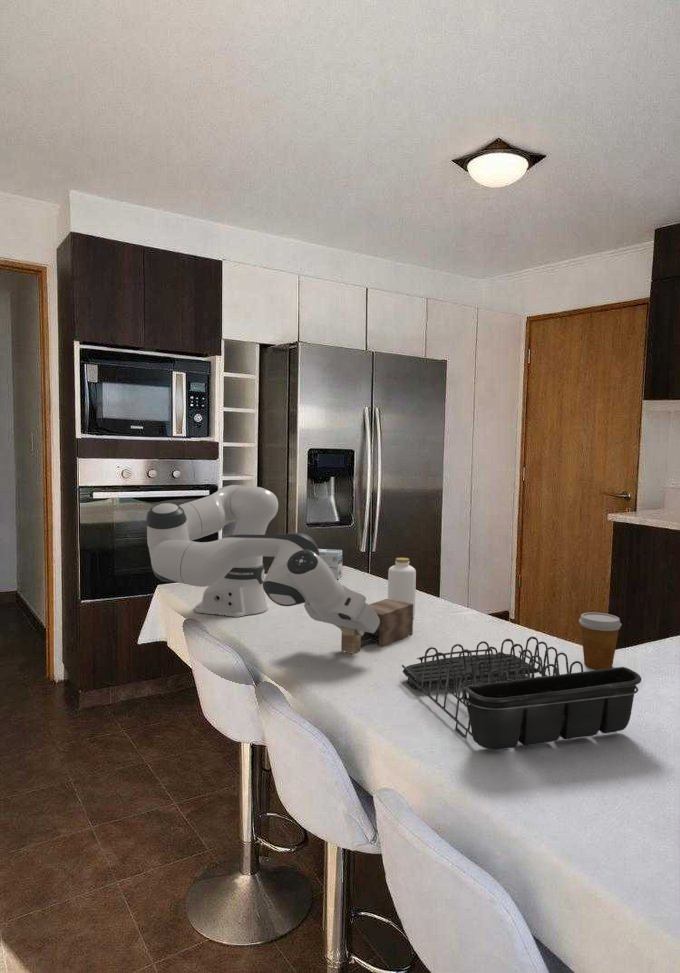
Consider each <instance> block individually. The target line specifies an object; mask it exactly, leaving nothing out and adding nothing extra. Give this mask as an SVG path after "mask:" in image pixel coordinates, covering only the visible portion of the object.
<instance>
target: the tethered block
mask: <svg viewBox="0 0 680 973" xmlns="http://www.w3.org/2000/svg"><path fill="white" fill-rule="evenodd" d="M379 619H380V618H379ZM355 631H356V629H351V628H347V627H343V626H342V631H341V648H340V649H341V650H340V651H341V652H343V651H345V652H344V653H347V652H348V654H351V653H352V655H354V654H356V653H358V652H360V650H361V647H363V646H366V645H368V644H371V643H373V642H376V641H377V640H378V641H379V633H380V623H379V626H378V628H377V630H376V631H375V634H374V637H372V638H369V639H367V640H364V641H361V640H362V639H361V636H360V635H357V634H356V633H355ZM355 652H356V653H355ZM353 653H354V654H353Z"/></svg>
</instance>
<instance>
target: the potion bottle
mask: <svg viewBox="0 0 680 973" xmlns="http://www.w3.org/2000/svg"><path fill="white" fill-rule="evenodd" d="M394 561H395V562H394V563H395V564H394V565H392V566H390V567H389V568H388V571H387V572H388V574H387V577H388V578H387V599H389V600H395V601H400V602H405V603H411V604H413V618H414V617H415V615H416V584H417V583H416V582H417V579H416V578H417V570H416V568H414V567H413V566H412V565H410V558H408V557H396V558H395V560H394Z"/></svg>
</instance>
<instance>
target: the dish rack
mask: <svg viewBox="0 0 680 973" xmlns="http://www.w3.org/2000/svg"><path fill="white" fill-rule="evenodd" d="M531 640H535V641H536V645H535V648H534V654H533V653H532V651H531V650H530V649H528V646H529V642H530V641H531ZM506 642H510V643H511V648H510V652H509V653H504V652H503V651H504V644H505V643H506ZM482 644H485V645H486V647H487V648H486V649H479V647H480V645H482ZM542 644H543V645H544V646H545V651H544V657H543V659H542V657H541V656H540V648H539V645H542ZM456 647H460V648H461V651H460V650H459V651H454V648H456ZM516 647H519V648H520V650H518V653H519V656H517V655H516V652H515V648H516ZM430 650H434V651H435V653H434V654H432V655H428V653H429V652H430ZM493 650H494V651H495V653H494V652H493ZM549 650H554V652H555V657H554V662H553V663H550V659H549V656H550V655H549ZM479 652H480V653H481V652H484V654H478V653H479ZM472 653H475V654H472ZM528 653H529V655H530V656H529V655H528ZM457 654H458V656H453V655H457ZM465 654H467V655H465ZM448 655H450V656H449V657H447V656H448ZM560 655H562V656H564V657H565V658H564V659H565V667H566V673H562V674H560V666H559V657H560ZM441 656H442V658H439V657H441ZM430 658H431V659H432V660H427V659H430ZM435 658H436V659H435ZM526 658H527V659H529V662H527V661H526ZM416 659H417V660H420V662H418V663H414V664H410V665H407V666H405V665H404V664H401V667H402V668H403V670H402V673H403V674H404V675H405V677H407V681H406V684H407V685H408V686H409V687H410V688H411V689H413V690H415V689H416V687H417V688H418V689H419V690H420V691H421V692H423V693H424V694H425V695H426V696H427V698H429V699H430V700H431V701H432V702H433V703H435V705H437V706H438V707H439V708H440V709H441V710H443V712H445V713H446V714H447V715H448V716H449V717H450V718H451V719H452V720H454V722H456V724H455V728H454V731H456V733H458V734H459V735H460V736H461V737H462V738H465V739H467V737H468V734H469V735H470V736H471V737H472V739H473V741H474V743H476V744H477V745H478V746H480V747H482V748H484V749H487V750H491V751H492V750H494V751H496V750H505V749H507V750H508V749H513V748H516V747H517V746H518V745H519V743H520V745H522V746H525V747H527V746H532V745H538V744H544V743H550V742H553V743H554V742H557V741H558V739H559V737H561V739H563V740H570V739H577V738H585V737H592V736H596V735H597V734H599V732H601V733H602V734H609V733H614V732H615V733H617V732H620V731H623V730H625V729H626V728H627V727H628V725H629V724H630V719H631V717H632V716H631V715H632V710H633V706H634V705H633V704H634V703H633V702H634V698H635V694H637V693H638V692H639V687H637V685H639V684H640V683H642V677H641V675H640V674H639V673H638V672H636V671H634V670H633V669H631V668H628V667H625V666H618V667H612V668H610V669H602V670H597V669H593V670H588V671H587V670H586V671H584V667H583V664H582V662H581V661H579V660H576V661H575V660H574V661H573V662H571V663H570V666H569V661H568V660H569V659H568V656H567V654H566V653H565V652H558V650H557V648H555V647H553V646H550V647H548V644H547V643H546V642H545V641H539V640H538V638H537V636H530V637H528V638H527V639H526V644H525V648H523V646H522V644H520V643H514V641H513V640H512V639H511V638H505V639H504V640H503V641H502V642H501V647H500V651H499V652H498V649H497V648H496V647H494V646H489V643H488V642H487V641H480V642H478V644H477V645H476V649H475V650H474V649H473V650H472V649H471V650H470V649H467V648H466V649H465V648H464V646H463V645H462V644H459V643H456V644H454V645H452V647H451V650H450V652H439V651H438V649H437V648H436V647H433V646H432V647H431V646H430V647H428V648H427V649H426V650H425V652H424V656H419V657H417V658H416ZM536 664H537V668H536ZM575 664H579V665H580V671H578V672H573V671H572V669H573V666H574V665H575ZM550 667H552V668H553V669H552V675H551V668H550ZM546 672H547V673H548V675H547V674H546ZM538 673H539V675H540V676H535V674H538ZM526 675H527V676H526ZM510 676H514V677H515V678H514V679H512V678H510ZM504 677H506V680H505V681H504ZM522 677H523V678H522ZM485 679H487V683H484V680H485ZM477 680H480V682H477V683H476V681H477ZM450 684H453V685H454V687H453V688H454V690H453V691H451V690H450ZM467 684H468V685H467ZM432 686H436V692H435V694H436V695H435V698H434V697H433V696H432V695H431V687H432ZM440 686H441V687H442V688H444V689H445V691H444V700H443V705H441V703H440V702H438V699H439V690H440ZM423 687H428V689H427V690H428V691H426V690H425V689H424V688H423ZM457 687H458V691H457ZM461 691H462V692H461ZM461 693H462V696H461ZM448 694H451V695H452V696H453V697H454V698H456V700H457V701H456V709H455V716H454V715H453V714H452V713H450V712H449V710H448V709H446V705H447V704H446V703H447V697H448V696H447V695H448ZM467 694H468V695H467ZM462 700H463V701H462ZM460 703H461V704H462V705H463V706H464V707H466V709H467V711H466V712H467V714H468V715H467V716H468V724H467V727H466V726H465V725H464V724H463V723H462V722H460V721H459V719H458V715H459V707H460ZM458 725H459V726H460V727H461V728H462V729H463V730H464V731H465V733H464V732H463V731H461V729H459V728H458Z"/></svg>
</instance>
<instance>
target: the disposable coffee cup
mask: <svg viewBox="0 0 680 973" xmlns="http://www.w3.org/2000/svg"><path fill="white" fill-rule="evenodd" d="M578 621H579V625H580V628H581V639H582V641H581V642H582V651H583V652H582V653H583V663H584V666H585V665H586V667H587V668H589V669H592V668H593V669H592V670H597V669H598V670H602V669H610V668H613V663H614V658H615V654H616V653H615V652H616V647H617V641H618V636H619V632H620V629H621V627H622V623H621V620H620V617H618V616H616V615H613V614H609V613H603V612H584V613H581V615H580V618H579V619H578Z"/></svg>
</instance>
